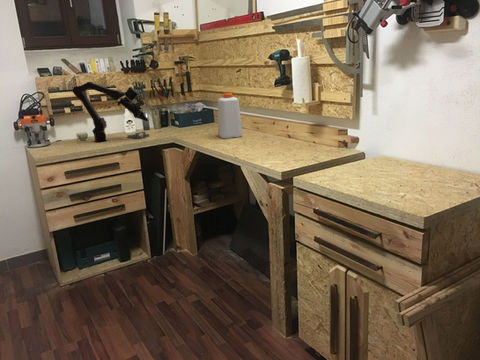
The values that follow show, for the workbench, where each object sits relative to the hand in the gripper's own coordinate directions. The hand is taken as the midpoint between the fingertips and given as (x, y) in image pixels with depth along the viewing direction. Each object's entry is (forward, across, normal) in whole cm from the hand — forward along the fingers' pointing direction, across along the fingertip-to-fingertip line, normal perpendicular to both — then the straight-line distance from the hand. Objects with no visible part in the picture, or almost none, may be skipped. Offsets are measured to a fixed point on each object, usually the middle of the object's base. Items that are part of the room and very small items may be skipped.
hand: (147, 120), depth 268 cm
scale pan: (+2, +10, +13) cm, 17 cm away
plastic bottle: (+46, -20, -29) cm, 58 cm away
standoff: (+4, 0, +6) cm, 7 cm away
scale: (+3, +9, +14) cm, 17 cm away
